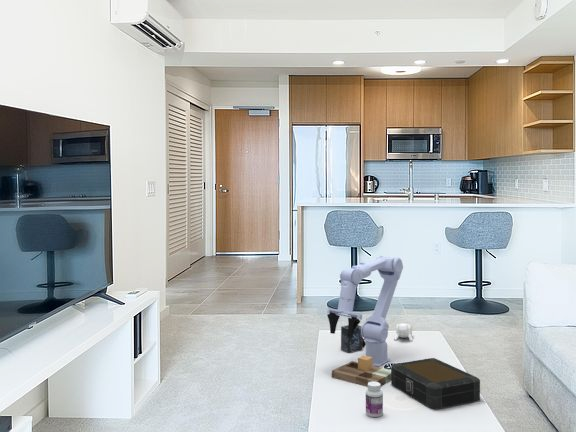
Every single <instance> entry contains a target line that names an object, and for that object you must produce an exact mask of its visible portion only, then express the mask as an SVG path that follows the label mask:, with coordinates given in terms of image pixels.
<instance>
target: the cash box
mask: <svg viewBox="0 0 576 432" xmlns="http://www.w3.org/2000/svg"><path fill="white" fill-rule="evenodd" d="M390 370H391V381H390V383H391V385H392V387H393V388H396V389H398V391H401V392H403V393H404V394H406V395H407V396H409V397H411V398H412V399H414V400H415V401H417V402H419V403H420V404H422V405H424V406H426V407H427V408H429V409H430V410H441V409H446V408H451V407H455V406H460V405H465V404H470V402H471V403H475V401H476V402H480V400H481V380H480V378H479V377H477V376H475V375H473V374H470V373H468V372H466V371H464V370H463V369H460V368H457V367H455V366H453V365H451V364H449V363H447V362H444V361H442V360H440V359H438V358H436V357H431V358H429V357H428V358H424V359H418V360H417V359H416V360H411V361H403V362H398V363H397V362H396V363H394V364H392V365H391V366H390Z"/></svg>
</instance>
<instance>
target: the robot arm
mask: <svg viewBox="0 0 576 432" xmlns="http://www.w3.org/2000/svg"><path fill="white" fill-rule="evenodd" d="M403 269H404V265H403V260H402V259H401V258H400V257H391V256H382V255H380V256H377V257H376V258H375V259H374V260H372V261H370V262H368V263H367V262H364V261H360V262H359V264H357V265H352V266H351V267H350V268H348V267H345V268H344V269H343V270H341V273H339V279H340V287H341V288H340V294H339V299H338V300H339V301H338V306H337V309H336V308H331V307H327V311H326V313H327V315H326V316H327V319H328V322H329V329H330V331H329V333H330V334H333V335H334V334H336V330H337V325H338V322H339V319H340V316H341V317H347V320H348V321H347V322H348V324H347V325H348V333H347V337H349V338H351V337H352V335H353V333H354V330H355V329H356V327H357V326H358V325H359V324H360V323H361V320H363V314H362V313H356V312H353V310H354V306H355V305H354V304H355V299H356V292H357V288H358V285H359V284H360V283H361V282H362V280H363V279H366V278H369V277H370V276H371V274H372V272H375V271H377V272H378V273H379V276H380V277H381V278H382V279H383V282H382V283H383V284H382V287H381V289H380V292H379V295H378V298H377V301H376V303H375V307H374V309H373V313H372V315H371V316H369V317H366V319H365V321H364V323H363V324H362V325H361V326H362V327H361V335H362V337H363V339H364V341H365V347H364V348H365V356H368V357H373V366H375V367H380V366H383V365H384V364H386V363H387V362H390V358H388V343H387V338H388V336H389V335H388V334H389V328H390V326H389V323H388V322H387V321H386V318H387V314H388V311H389V310H390V309H389V308H390V306H391V303H392V300H393V297H394V294H395V291H396V288H397V286H398V281H399V280H400V278H401V276H402V275H401V274H402V272H403Z"/></svg>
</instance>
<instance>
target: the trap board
mask: <svg viewBox="0 0 576 432" xmlns="http://www.w3.org/2000/svg"><path fill="white" fill-rule="evenodd" d="M331 378H333V379H337V380H341V381H345V382H349V383H352V384H355V385H360V386H363V387H367V388H368V383H369V382H379V383H380V384H381V387H382V386H384V385H386V384H387V383H389V382H391V369H388V368H384V367H380V366H374V365H373V368H371V369H370V370H368V371H366V370H362V369H358V361H353V360H352V361H350V362H347V363H345V364H343V365H341V366H339V367H336V368H335V369H333V370H331Z"/></svg>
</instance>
